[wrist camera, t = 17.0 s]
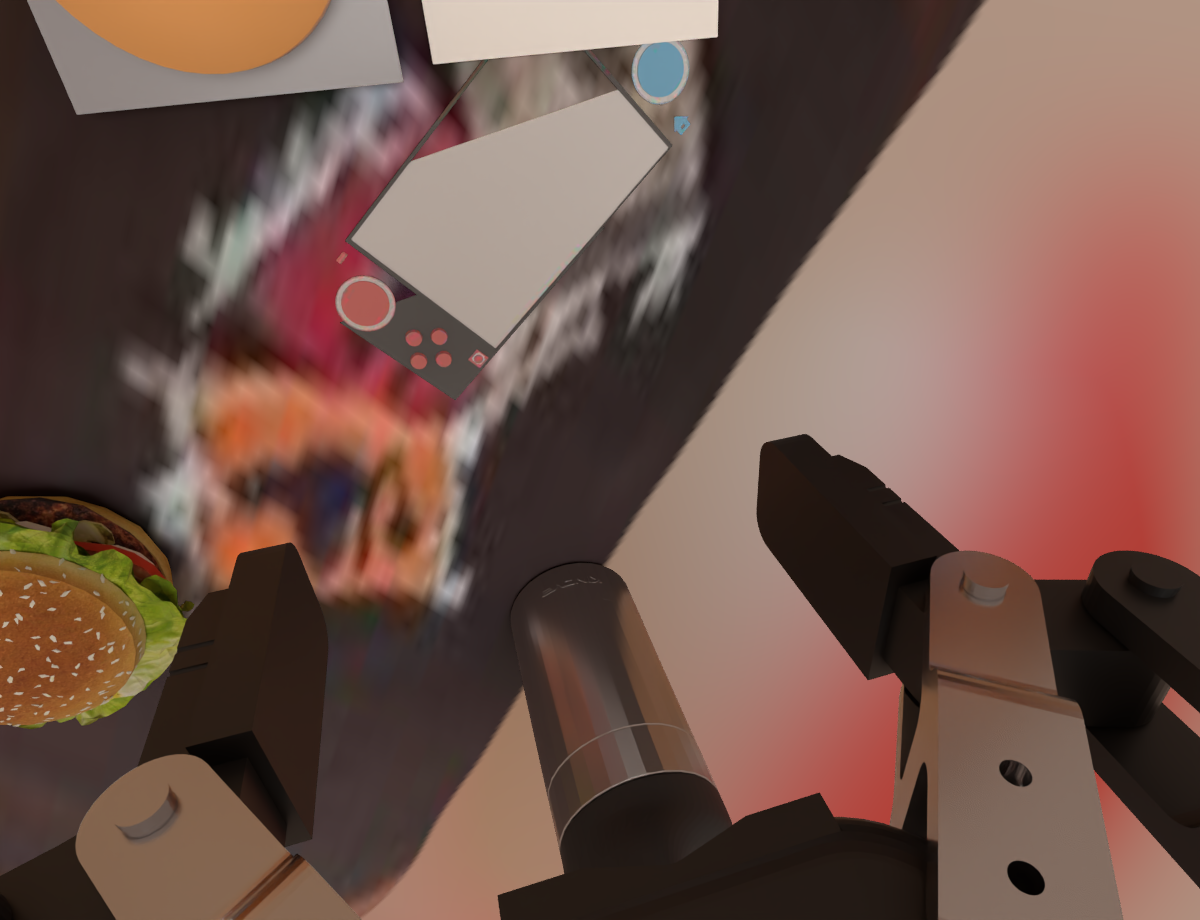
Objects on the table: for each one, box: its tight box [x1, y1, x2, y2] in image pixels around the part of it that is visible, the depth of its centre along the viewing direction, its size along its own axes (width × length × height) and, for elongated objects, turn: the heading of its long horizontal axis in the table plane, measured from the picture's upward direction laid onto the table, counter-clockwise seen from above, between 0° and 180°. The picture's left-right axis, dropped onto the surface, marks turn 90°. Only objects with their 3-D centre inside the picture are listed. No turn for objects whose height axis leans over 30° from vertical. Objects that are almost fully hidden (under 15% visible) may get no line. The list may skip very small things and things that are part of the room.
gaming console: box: [335, 41, 690, 400], centre depth 36 cm, size 22×1×10 cm
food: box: [0, 496, 195, 729], centre depth 37 cm, size 14×14×8 cm
